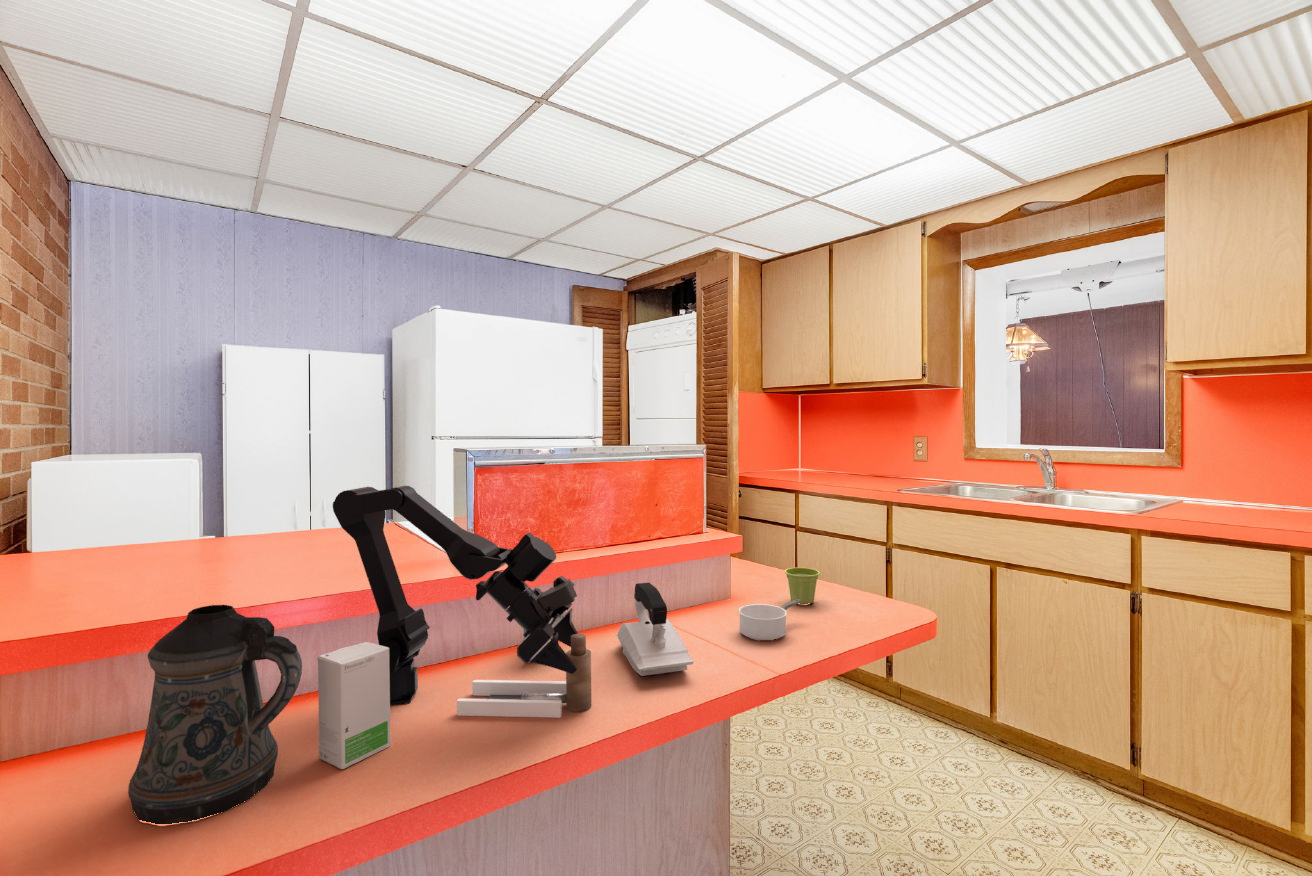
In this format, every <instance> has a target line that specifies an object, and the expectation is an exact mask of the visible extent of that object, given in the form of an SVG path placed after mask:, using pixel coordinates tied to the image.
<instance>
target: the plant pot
mask: <svg viewBox="0 0 1312 876" xmlns="http://www.w3.org/2000/svg"><path fill="white" fill-rule="evenodd" d="M784 573H785V574H786V578H787V580H788V588H789V589H788V590H789V595H790V596H789V597H790V602H791V601H794V600H796V599H799V600H801V602H800V604H808V603H813V602H814V603H815V595H816V587H817V581H818V579H819V576H820V574H821V573H820V571H819V570H817V569H815V568H812V567H811V568H810V567H791V568H790V567H789V568H786V569H784ZM814 603H813V604H814Z"/></svg>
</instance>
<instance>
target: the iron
mask: <svg viewBox="0 0 1312 876" xmlns="http://www.w3.org/2000/svg"><path fill="white" fill-rule="evenodd" d="M634 586H635V587H634V594H633V595H634V599H635V601H634V606H635V612H636V616H637V619H638V621H634V622H626V623H621V625H620V627H619V629H618V632H617V634H616V636H617V638H618V641H619V643H620V645H621V647H622V654H623V655H624V656H625V657H626V659H627V661H628V662H629V664H630V666H631V667H632V669H633V670H634V671H635V672H636V673H637V674H638V675H640V677H641V676H642V677H643V676H651V675H660V674H665V673H673V672H680V671H687V670H688V666H691V665H694V661H693V659H692V657H691V655H690V653H689V650H688V649H687V648H686V646H685V643H684V642H683V640H682V639H681V636H680V635H679V634H678V632H677V629H676V628H675V627H674V625H673V624H672V623H671V622H670V620H669V619H668V618H667V617H668V616H667V615H668V606H667V604H666V602H665V600H664V599H663V597H662V595H661V593H660V591H659V589H658V588H657V587H656V586H655V585H653V584H651V582H641V583H640V582H639V583H635V585H634Z"/></svg>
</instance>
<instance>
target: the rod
mask: <svg viewBox="0 0 1312 876" xmlns="http://www.w3.org/2000/svg"><path fill="white" fill-rule="evenodd" d="M521 700H562V704H566V694H559V693H522V695H521Z"/></svg>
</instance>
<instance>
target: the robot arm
mask: <svg viewBox="0 0 1312 876" xmlns="http://www.w3.org/2000/svg"><path fill="white" fill-rule="evenodd" d="M332 510H333V513H334V515H335V518H336V519H337V521H338V523H339V525H340V527H341V528H342V530H344V531H345V533H347V534H348V535H349V536H350V537H351V538H352V539H353V540H354V542H355V544H356V546H357V547H356V548H357V550H358V554H359V557H360V559H361V563H362V566H363V569H364V572H365V575H366V579H367V581H368V583H369V587H370V590H371V593H372V596H373V599H374V602H375V604H376V607H377V610H378V615H379V616H378V623H377V630H376V635H377V644H378V645H381V646H385V647H388V648H389V672H390V705H396V704H397V705H398V704H408V703H411V702H412V701H413V697H414V695H416V693H417V691H418V689H419V678H418V667H417V666H415V659H414V658H415V657H418V656H419V654H420V652H421V649H423V647H424V646H425V645H426V643H427V641H428V640H429V639H428V638H429V632H428V630H429V629H431V628H430V625H429V624H428V623H427V621H426V617H425V611H424V610H423V608H419V609H417V610H415V609H414V608H413V607H412V606H411V605H410V604H409V602H408V601H407V598H406V596H405V592H404V589H403V586H402V584H401V580H400V577H399V575H398V572H397V568H396V565H395V563H394V559H393V555H392V553H391V550H390V547H389V544H388V542H387V538H386V535H385V532H384V528H385V521H386V520H385V519H386V515H387V514H386V511H389V510H390V511H391V510H392V511H393V510H394V511H395V512H396V513H398V514H399V515H400V516H402V518H404V519H405V520H407V522H409V523H411V525H413V526H414V527H415V528H417V529H418V530H419V531H420V532H422V533H423V534H424V535H426V536H427V537H428V538H430V540H432V541H433V542H434V543H435V544H437V545H438V546H439V547H441V548H442V549H443V551H444V553H446V555H447V558H448V559H449V563H450V564H451V565H452V566H453V567H454V568H455V569H456V570H457V572H459V574H460V575H461V576H462V577H463V578H465V579H467V580H470V581H472V580H478V579H480V578H483V577H485V576H486V575H488V574H489V573H492V572H493V573H492V574H491V575H490V576H489V577H488V578H487V579H486V580H480V581H479V582H478V583H477V584H476V585H475V588H476V595H475V600H476V601H480V600H481V599H483V598H484V597H485V596H486V595H487V594H488V596H490V597H491V598H492V600H494V601H495V602H496V603H497V604H498V605H499V607H501V608H502V609H503V611H505V612H506V613H507V614H508V616H507V617H506V620H507V621H508V622H509V623H511V622H513V620H514V621H515V622H516V623H517V624H518V625H519V627H521V629H523V631H524V630H525V631H526V632H525V633H524V632H523V634H522V635H523V637H524V636H525V637H526V638H525V639H524V638H523V639H522V640H521V642H520V643H519V644H518V646H517V647H516V656H517V657H518V658H519V660H521V661H522V662H523V663H524V664H527V663H528V661H529V660H530V659H531V658H532V659H531V660H530V663H529V664H532V665H533V663H534V664H537V665H542V666H546V667H550V668H554V669H556V670H558V671H561V672H565V673H566V672H568V673H571V674H573V673H575V672H576V670H577V668H576V666H575V665H574V664H573V662H572V661H571V660H570V658H569V657H568V656H567V654H566V652H565V650H564V649H563V648H562V646H560V644H559V642H560V643H562V644H563V645H566V646H568V647H570V648H571V636H572V635H574V634H579V633H578V631H577V629H576V627H575V625H574V623H573V619H572V617H573V608H571V606H572V605H573V603H574V601H575V599H576V597H578V594H577V592H576V590H575V588H574V587H575V583H574V582H572V581H571V579H570V578H569V579H567V578H566V577H565V576H563V575H560V576H558V577H556V578H555V579H554V580H553V584H552V587H549V589H547V590H545V591H543V590H541V589H540V588H539V587H535V588H534V589H532V588H531V587H530V586H529V585H528V584H527V583H526V582H527V581H528V582H530V583H531V582H532V583H533V582H535V581H536V580H537V579H538V578H539V577H540V575H542V574H543V573H544V572H545V571H546V570H547V569H548V568H549V566H550V565H552V564H553V563H554V562H555V560H556V559H557V554H556V551H555V550H554V548H553V547H552V546H551V544H550V543H548V541H544V540H543V539H541V538H540V537H538V536H534V534H532V532H528V533H526V534H524V536H522V537H521V539H520V540H519V542H518V543H517V544H516V545H515V546H514V547H513V548H505V547H499V546H498V545H497V544H496V543H494V542H493V541H491V540H490V539H487V538H485V537H483V536H481V535H479V534H477V533H473V532H470V531H469V530H468V531H467V530H466V529H464V528H462V527H461V526H460V525H458V524H457V523H456V522H455V521H453V520H452V519H451V518H449V517H448V516H446V515H445V514H444V513H443V512H442V511H440V510H439V509H438V508H437V507H435V506H434V505H432V504H431V503H430V502H429V501H428V500H427V499H425V498H424V497H423V496H421V494H419V493H418V492H417V491H416V489H415V488H414V487H413V486H410V485H402V486H397V487H396V486H395V487H392V488H388V489H386V488H385V489H381V490H379V489H377V488H374V487H373V486H365V487H358V488H352V489H346V490H342V491H341V492H339V493H338V494H337V495H336V497H335V499H334V501H333V502H332ZM505 565H506V566H507V567H506V568H505V569H504V570H503V571H502V570H498V569H499V568H501V567H504V566H505Z"/></svg>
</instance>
